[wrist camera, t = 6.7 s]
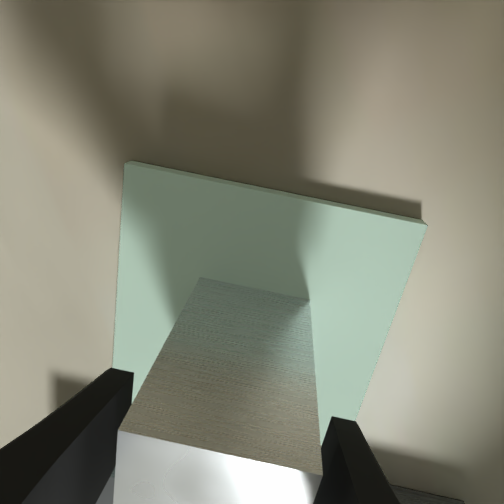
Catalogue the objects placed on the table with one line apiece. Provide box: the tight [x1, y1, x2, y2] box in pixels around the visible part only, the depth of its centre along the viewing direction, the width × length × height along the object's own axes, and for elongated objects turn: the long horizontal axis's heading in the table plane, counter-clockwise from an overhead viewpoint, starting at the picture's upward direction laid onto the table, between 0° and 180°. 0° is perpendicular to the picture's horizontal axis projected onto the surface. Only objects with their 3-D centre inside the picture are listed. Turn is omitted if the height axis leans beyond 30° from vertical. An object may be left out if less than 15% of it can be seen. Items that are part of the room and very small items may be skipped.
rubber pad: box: [113, 161, 428, 446], centre depth 15 cm, size 10×10×1 cm
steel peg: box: [113, 277, 323, 504], centre depth 11 cm, size 4×4×7 cm
